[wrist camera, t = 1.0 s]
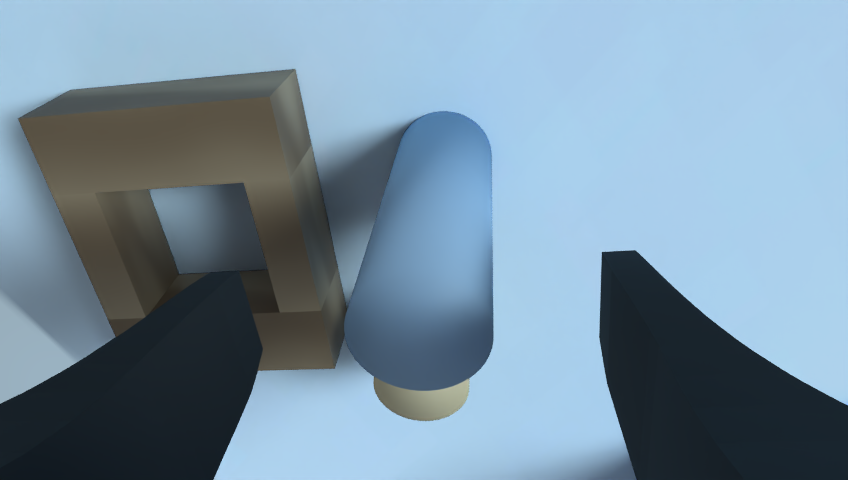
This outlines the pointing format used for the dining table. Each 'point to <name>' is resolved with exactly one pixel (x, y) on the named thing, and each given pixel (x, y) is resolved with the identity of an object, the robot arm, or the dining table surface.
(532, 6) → the dining table surface
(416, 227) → the long dowel
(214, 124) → the block with square hole
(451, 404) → the short dowel
